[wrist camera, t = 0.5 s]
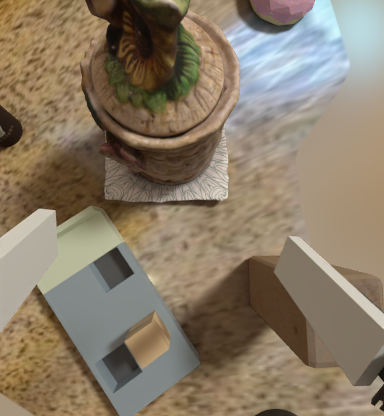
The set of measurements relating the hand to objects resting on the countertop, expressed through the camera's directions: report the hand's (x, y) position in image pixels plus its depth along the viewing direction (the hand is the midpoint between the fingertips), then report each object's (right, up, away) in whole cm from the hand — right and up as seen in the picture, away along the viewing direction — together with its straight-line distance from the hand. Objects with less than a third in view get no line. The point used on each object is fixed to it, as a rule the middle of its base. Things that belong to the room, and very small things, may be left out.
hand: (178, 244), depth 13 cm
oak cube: (-7, -20, +27) cm, 34 cm away
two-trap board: (-14, -16, +29) cm, 36 cm away
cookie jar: (-4, +15, +33) cm, 37 cm away
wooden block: (+17, -13, +32) cm, 38 cm away
